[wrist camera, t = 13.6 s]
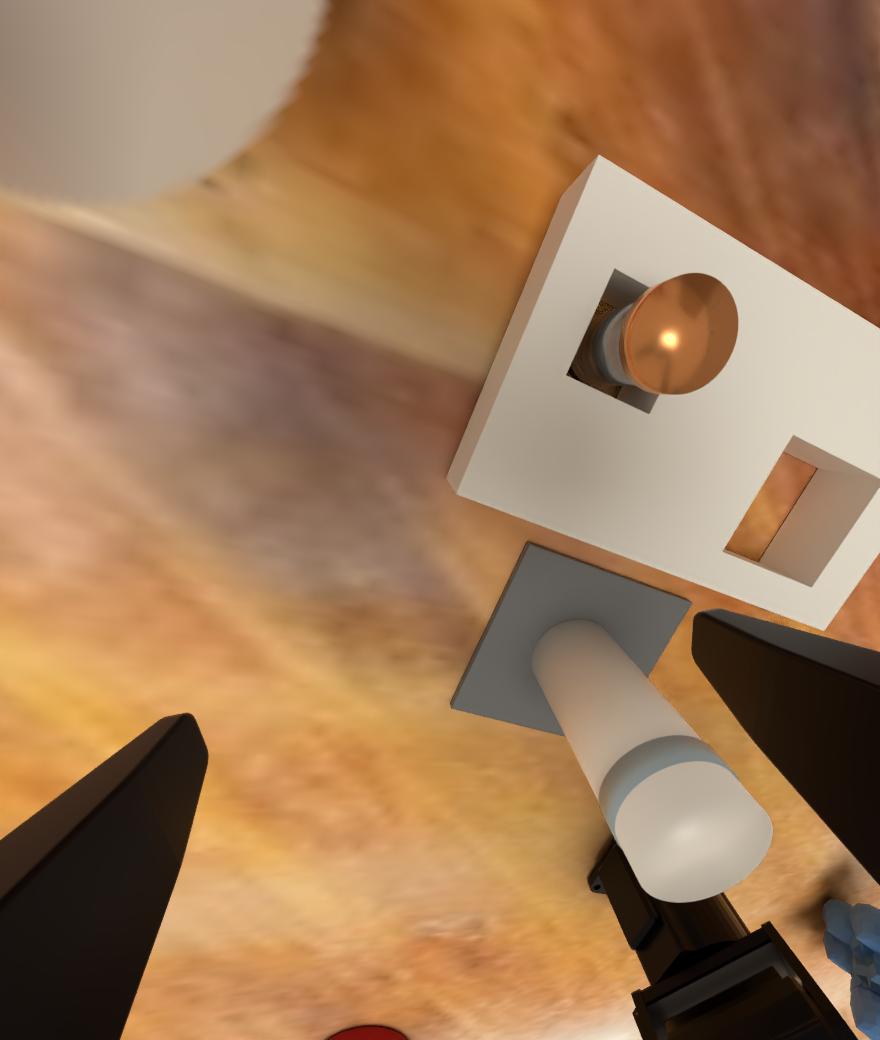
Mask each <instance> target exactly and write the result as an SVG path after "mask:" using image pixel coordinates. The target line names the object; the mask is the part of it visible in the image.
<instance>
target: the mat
mask: <svg viewBox="0 0 880 1040" xmlns="http://www.w3.org/2000/svg"><path fill="white" fill-rule="evenodd" d="M691 605H692V602H691V601H689V600H688V599H685V598H682V597H680V596H677V595H674V594H671V593H668V592H666V591H663V590H660V589H657V588H655V587H652V586H649V585H646V584H643V583H641V582H638V581H635V580H632V579H629V578H627V577H624V576H621V575H618V574H616V573H613V572H610V571H607V570H604V569H602V568H599V567H596V566H593V565H590V564H588V563H585V562H582V561H579V560H577V559H574V558H571V557H568V556H565V555H563V554H560V553H557V552H554V551H551V550H549V549H546V548H543V547H540V546H538V545H535V544H532V543H529V542H527V543H526V546H525V548H524V550H523V552H522V554H521V556H520V558H519V560H518V562H517V564H516V566H515V569H514V571H513V573H512V575H511V577H510V579H509V581H508V583H507V585H506V587H505V589H504V592H503V594H502V596H501V598H500V600H499V602H498V604H497V606H496V608H495V610H494V613H493V615H492V617H491V619H490V621H489V623H488V625H487V627H486V629H485V631H484V633H483V636H482V638H481V640H480V642H479V644H478V646H477V648H476V650H475V652H474V654H473V656H472V659H471V661H470V663H469V665H468V667H467V669H466V671H465V673H464V675H463V677H462V680H461V682H460V684H459V686H458V688H457V690H456V692H455V694H454V696H453V698H452V700H451V703H450V705H451V708H452V709H456V710H460V711H464V712H468V713H472V714H476V715H480V716H484V717H488V718H492V719H496V720H500V721H504V722H508V723H512V724H516V725H520V726H524V727H529V728H533V729H537V730H541V731H545V732H549V733H553V734H557V735H561V736H565V734H564V732H563V730H562V728H561V726H560V724H559V722H558V720H557V718H556V716H555V714H554V712H553V710H552V708H551V707H550V705H549V703H548V701H547V699H546V697H545V695H544V693H543V691H542V689H541V687H540V685H539V683H538V681H537V679H536V677H535V675H534V673H533V670H532V665H531V659H532V654H533V650H534V648H535V646H536V644H537V642H538V641H539V639H540V638H541V637H542V636H543V635H544V634H545V633H546V632H547V631H548V630H549V629H551V628H552V627H554V626H556V625H558V624H560V623H562V622H565V621H569V620H575V619H582V620H589V621H592V622H595V623H597V624H598V625H600V626H601V627H603V628H604V629H605V631H606V632H607V633H608V634H609V635H610V636H611V637H612V638H613V640H614V641H615V642H616V643H617V644H618V645H619V646H620V647H621V649H622V650H623V651H624V652H625V653H626V654H627V655H628V656H629V658H630V659H631V660H632V661H633V662H634V663H635V664H636V666H637V667H638V668H639V669H640V670H641V671H642V672H643V673H644V675H645V676H646V677H648V676H649V674H650V672H651V671H652V669H653V667H654V666H655V664H656V662H657V661H658V659H659V657H660V656H661V654H662V653H663V651H664V649H665V648H666V646H667V644H668V643H669V641H670V639H671V638H672V636H673V634H674V633H675V631H676V629H677V628H678V626H679V624H680V623H681V621H682V620H683V618H684V616H685V615H686V613H687V611H688V610H689V608H690V606H691ZM565 737H566V736H565Z"/></svg>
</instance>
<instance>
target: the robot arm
mask: <svg viewBox="0 0 880 1040" xmlns="http://www.w3.org/2000/svg"><path fill="white" fill-rule="evenodd" d="M691 650H692V656H693V659H694V661H695V663H696V664H697V666H698V667H699V669H700V670H701V671H702V673H703V674H704V675H705V677H706V678H707V679H708V681H709V682H710V684H711V685H712V686H713V688H714V689H715V690H716V692H717V693H718V694H719V696H720V697H721V699H722V700H723V701H724V703H725V704H726V705H727V707H728V708H729V709H730V711H731V712H732V713H733V715H734V716H735V718H736V719H737V720H738V722H739V723H740V724H741V726H742V727H743V728H744V730H745V731H746V732H747V733H748V735H749V736H750V737H751V739H752V740H753V741H754V742H755V744H756V745H757V746H758V747H759V748H760V749H761V751H762V752H763V753H764V754H765V755H766V756H767V758H768V759H769V760H770V761H771V762H772V763H773V764H774V766H775V767H776V768H777V769H778V770H779V771H780V772H781V774H782V775H783V776H784V777H785V778H786V779H787V780H788V782H789V783H790V784H791V785H792V786H793V787H794V788H795V790H796V791H797V792H798V793H799V794H800V795H801V796H802V798H803V799H804V800H805V801H806V802H807V803H808V804H809V806H810V807H811V808H812V809H813V810H814V811H815V812H816V814H817V815H818V816H819V817H820V818H821V819H822V820H823V822H824V823H825V824H826V825H827V826H828V827H829V828H830V830H831V831H832V832H833V833H834V834H835V835H836V836H837V838H838V839H839V840H840V841H841V842H842V843H843V844H844V846H845V847H846V848H847V849H848V850H849V851H850V852H851V854H852V855H853V856H854V857H855V858H856V859H857V860H858V862H859V863H860V864H861V865H862V866H863V867H864V868H865V870H866V871H867V872H868V873H869V874H870V875H871V876H872V877H873V879H874V880H875V881H876V882H877V883H878V884H879V885H880V652H879V651H875V650H871V649H867V648H864V647H860V646H856V645H853V644H849V643H845V642H842V641H838V640H834V639H831V638H827V637H823V636H820V635H816V634H812V633H809V632H805V631H801V630H797V629H794V628H790V627H786V626H783V625H779V624H775V623H772V622H768V621H764V620H761V619H757V618H753V617H750V616H746V615H742V614H739V613H735V612H731V611H727V610H724V609H711V610H706V611H701V612H698V613H697V614H696V615H695V616H694V619H693V632H692V648H691ZM207 765H208V749H207V746H206V744H205V741H204V739H203V736H202V734H201V732H200V729H199V727H198V724H197V722H196V719H195V718H194V716H193V715H192V714H190V713H182V714H177V715H172V716H167V717H164V718H162V719H160V720H159V721H157V722H156V723H155V724H154V725H152V726H151V727H150V728H148V729H147V730H146V731H144V732H143V733H142V734H140V735H139V736H138V737H136V738H135V739H134V740H132V741H131V742H130V743H128V744H127V745H126V746H124V747H123V748H122V749H120V750H119V751H118V752H116V753H115V754H114V755H112V756H111V757H110V758H108V759H107V760H106V761H104V762H103V763H102V764H100V765H99V766H98V767H97V768H95V769H94V770H93V771H91V772H90V773H89V774H87V775H86V776H85V777H83V778H82V779H81V780H79V781H78V782H77V783H75V784H74V785H73V786H71V787H70V788H69V789H67V790H66V791H65V792H63V793H62V794H61V795H59V796H58V797H57V798H55V799H54V800H53V801H51V802H50V803H49V804H47V805H46V806H45V807H44V808H42V809H41V810H40V811H38V812H37V813H36V814H34V815H33V816H32V817H30V818H29V819H28V820H26V821H25V822H24V823H22V824H21V825H20V826H18V827H17V828H16V829H14V830H13V831H12V832H10V833H9V834H8V835H6V836H5V837H4V838H2V839H1V840H0V1040H120V1038H121V1035H122V1032H123V1030H124V1027H125V1024H126V1021H127V1018H128V1016H129V1013H130V1010H131V1007H132V1004H133V1001H134V999H135V996H136V993H137V990H138V987H139V985H140V982H141V979H142V976H143V973H144V970H145V968H146V965H147V962H148V959H149V956H150V954H151V951H152V948H153V945H154V942H155V940H156V937H157V934H158V931H159V928H160V925H161V923H162V920H163V917H164V914H165V911H166V909H167V906H168V903H169V900H170V897H171V894H172V892H173V889H174V886H175V883H176V880H177V877H178V874H179V871H180V868H181V865H182V861H183V858H184V854H185V851H186V847H187V843H188V839H189V835H190V832H191V828H192V824H193V820H194V816H195V812H196V808H197V804H198V801H199V797H200V793H201V789H202V785H203V781H204V777H205V773H206V770H207ZM588 885H589V888H590V890H591V891H592V892H595V893H602V894H607V896H608V898H609V900H610V903H611V905H612V907H613V910H614V912H615V914H616V916H617V919H618V921H619V923H620V926H621V928H622V930H623V932H624V935H625V937H626V939H627V942H628V944H629V946H630V948H631V949H632V950H635V951H636V953H637V955H638V958H639V960H640V962H641V964H642V967H643V969H644V971H645V974H646V976H647V978H648V980H649V983H650V985H651V986H649V987H647V988H645V989H643V990H640V989H638V990H636V991H634V992H632V993H631V995H632V998H633V1001H634V1004H635V1006H636V1008H635V1010H634V1011H633V1013H632V1014H633V1016H634V1019H635V1021H636V1024H637V1026H638V1029H639V1031H640V1034H641V1037H642V1039H643V1040H858V1039H857V1037H856V1036H855V1034H854V1033H853V1032H852V1030H851V1029H850V1028H849V1026H848V1025H847V1023H846V1022H845V1021H844V1019H843V1018H842V1017H841V1015H840V1014H839V1013H838V1011H837V1010H836V1009H835V1007H834V1006H833V1005H832V1003H831V1002H830V1001H829V999H828V998H827V997H826V995H825V994H824V993H823V991H822V990H821V989H820V987H819V986H818V985H817V983H816V982H815V981H814V979H813V978H812V977H811V975H810V974H809V973H808V971H807V970H806V969H805V967H804V966H803V965H802V963H801V962H800V961H799V959H798V958H797V957H796V955H795V954H794V953H793V951H792V950H791V949H790V947H789V946H788V945H787V943H786V942H785V941H784V939H783V938H782V937H781V936H780V934H779V933H778V932H777V930H776V929H775V928H774V926H773V925H772V924H771V922H770V921H768V922H766V923H764V924H762V925H761V927H762V928H760V929H758V930H756V931H754V932H752V933H750V931H749V930H748V928H747V927H746V925H745V924H744V922H743V921H742V919H741V918H740V916H739V915H738V913H737V912H736V910H735V909H734V907H733V906H732V904H731V903H730V901H729V900H728V898H727V897H726V895H725V894H724V892H722V893H720V894H717V895H715V896H712V897H709V898H706V899H702V900H698V901H693V902H681V903H676V902H667V901H663V900H660V899H657V898H655V897H653V896H651V895H649V894H648V893H647V892H646V891H645V890H644V889H643V888H642V887H641V885H640V883H639V881H638V879H637V877H636V875H635V873H634V871H633V869H632V867H631V865H630V863H629V861H628V859H627V857H626V855H625V853H624V851H623V850H622V849H621V848H620V846H619V845H618V844H617V842H616V840H614V842H613V843H612V845H611V846H610V848H609V849H608V851H607V852H606V854H605V855H604V857H603V858H602V860H601V861H600V863H599V864H598V866H597V867H596V869H595V870H594V872H593V873H592V875H591V877H590V878H589V880H588Z"/></svg>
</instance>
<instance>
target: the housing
mask: <svg viewBox="0 0 880 1040" xmlns="http://www.w3.org/2000/svg"><path fill="white" fill-rule="evenodd" d="M687 273H703V274H707V275H710V276H712V277H714V278H716V279H718V280H719V281H720V282H722V283H723V284H724V285H725V286H726V287H727V289H728V290H729V291H730V293H731V295H732V297H733V298H734V301H735V304H736V307H737V312H738V320H739V322H738V335H737V340H736V344H735V347H734V350H733V352H732V354H731V356H730V358H729V360H728V362H727V364H726V365H725V367H724V368H723V369H722V371H721V372H720V373H719V374H718V375H717V376H716V377H715V378H714V379H713V380H712V381H711V382H710V383H708V384H707V385H705V386H704V387H702V388H700V389H698V390H696V391H693V392H691V393H687V394H680V395H665V394H653V393H648V392H646V391H643V390H642V389H640V388H638V387H637V386H636V385H622V387H621V389H620V391H619V393H618V396H617V398H616V399H615V398H613V397H611V396H609V395H607V394H605V393H603V392H601V391H598V390H596V389H594V388H592V387H590V386H588V385H586V384H584V383H581V382H579V381H577V380H575V379H573V378H571V377H569V376H567V375H566V374H567V372H568V370H569V367H570V365H571V363H572V361H573V359H574V356H575V354H576V352H577V350H578V348H579V345H580V343H581V341H582V339H583V337H584V334H585V332H586V330H587V328H588V326H589V323H590V321H591V319H592V317H593V315H594V312H595V310H596V308H597V306H598V304H599V301H600V300H601V301H603V302H605V303H607V304H609V305H611V306H612V307H614V308H616V309H617V308H620V307H623V306H626V305H629V304H631V303H634V302H635V301H636V300H637V299H638V298H639V296H641V295H642V294H643V293H644V292H645V291H646V290H648V289H649V288H651V287H652V286H654V285H656V284H658V283H661V282H663V281H666V280H669V279H671V278H674V277H677V276H679V275H682V274H687ZM782 452H785V453H787V454H789V455H791V456H794V457H796V458H798V459H800V460H802V461H804V462H806V463H808V464H810V465H812V466H814V467H816V468H818V469H817V471H816V472H815V474H814V475H813V477H812V479H811V480H810V482H809V483H808V485H807V486H806V488H805V490H804V491H803V493H802V494H801V496H800V498H799V499H798V501H797V502H796V504H795V505H794V507H793V509H792V510H791V512H790V513H789V515H788V516H787V518H786V520H785V521H784V523H783V524H782V526H781V528H780V529H779V531H778V532H777V534H776V535H775V537H774V539H773V540H772V542H771V543H770V545H769V546H768V548H767V550H766V551H765V553H764V554H763V556H762V558H761V559H760V561H759V562H756V561H753V560H751V559H748V558H746V557H743V556H741V555H738V554H736V553H733V552H731V551H728V550H726V549H724V548H725V546H726V545H727V543H728V541H729V540H730V538H731V537H732V535H733V533H734V532H735V530H736V528H737V527H738V525H739V523H740V522H741V520H742V518H743V517H744V515H745V513H746V512H747V510H748V508H749V507H750V505H751V503H752V502H753V500H754V499H755V497H756V495H757V494H758V492H759V490H760V489H761V487H762V485H763V484H764V482H765V480H766V479H767V477H768V475H769V474H770V472H771V470H772V469H773V467H774V466H775V464H776V462H777V461H778V459H779V457H780V456H781V454H782ZM446 480H447V481H448V483H449V484H450V486H451V487H452V489H453V490H454V492H455V493H456V494H457V495H459V496H462V497H465V498H467V499H470V500H473V501H475V502H478V503H481V504H484V505H486V506H489V507H492V508H494V509H497V510H500V511H502V512H505V513H508V514H510V515H513V516H516V517H518V518H521V519H524V520H527V521H529V522H532V523H535V524H537V525H540V526H543V527H545V528H548V529H551V530H553V531H556V532H559V533H562V534H564V535H567V536H570V537H572V538H575V539H578V540H580V541H583V542H586V543H588V544H591V545H594V546H596V547H599V548H602V549H605V550H607V551H610V552H613V553H615V554H618V555H621V556H623V557H626V558H629V559H631V560H634V561H637V562H640V563H642V564H645V565H648V566H650V567H653V568H656V569H658V570H661V571H664V572H666V573H669V574H672V575H675V576H677V577H680V578H683V579H685V580H688V581H691V582H693V583H696V584H699V585H701V586H704V587H707V588H709V589H712V590H715V591H718V592H720V593H723V594H726V595H728V596H731V597H734V598H736V599H739V600H742V601H744V602H747V603H750V604H753V605H755V606H758V607H761V608H763V609H766V610H769V611H771V612H774V613H777V614H779V615H782V616H785V617H787V618H790V619H793V620H796V621H798V622H801V623H804V624H806V625H809V626H812V627H814V628H817V629H820V630H822V631H824V630H825V629H826V628H827V626H828V625H829V623H830V622H831V620H832V619H833V618H834V616H835V615H836V613H837V612H838V611H839V609H840V608H841V606H842V605H843V604H844V602H845V601H846V599H847V598H848V596H849V595H850V594H851V592H852V591H853V589H854V588H855V587H856V585H857V584H858V582H859V581H860V579H861V578H862V577H863V575H864V574H865V572H866V571H867V570H868V568H869V567H870V565H871V564H872V562H873V561H874V560H875V558H876V557H877V555H878V554H879V553H880V329H879V328H878V327H876V326H874V325H873V324H871V323H870V322H868V321H866V320H865V319H863V318H862V317H860V316H858V315H857V314H855V313H854V312H852V311H850V310H849V309H847V308H845V307H844V306H842V305H841V304H839V303H837V302H836V301H834V300H833V299H831V298H829V297H828V296H826V295H825V294H823V293H821V292H820V291H818V290H816V289H815V288H813V287H812V286H810V285H808V284H807V283H805V282H804V281H802V280H800V279H799V278H797V277H796V276H794V275H792V274H791V273H789V272H787V271H786V270H784V269H783V268H781V267H779V266H778V265H776V264H775V263H773V262H771V261H770V260H768V259H766V258H765V257H763V256H762V255H760V254H758V253H757V252H755V251H754V250H752V249H750V248H749V247H747V246H746V245H744V244H742V243H741V242H739V241H737V240H736V239H734V238H733V237H731V236H729V235H728V234H726V233H725V232H723V231H721V230H720V229H718V228H717V227H715V226H713V225H712V224H710V223H708V222H707V221H705V220H704V219H702V218H700V217H699V216H697V215H696V214H694V213H692V212H691V211H689V210H687V209H686V208H684V207H683V206H681V205H679V204H678V203H676V202H675V201H673V200H671V199H670V198H668V197H667V196H665V195H663V194H662V193H660V192H658V191H657V190H655V189H654V188H652V187H650V186H649V185H647V184H646V183H644V182H642V181H641V180H639V179H638V178H636V177H634V176H633V175H631V174H629V173H628V172H626V171H625V170H623V169H621V168H620V167H618V166H617V165H615V164H613V163H612V162H610V161H608V160H607V159H605V158H604V157H602V156H600V155H598V156H597V157H596V158H595V159H594V160H593V161H592V162H591V163H590V165H589V166H588V167H587V168H586V169H585V170H584V171H583V172H582V173H581V174H580V176H579V177H578V178H577V179H576V180H575V181H574V182H573V183H572V184H571V185H570V187H569V188H568V189H567V190H566V191H565V192H564V193H563V194H562V196H561V198H560V200H559V203H558V205H557V208H556V210H555V213H554V215H553V218H552V220H551V222H550V225H549V227H548V230H547V232H546V235H545V237H544V240H543V242H542V244H541V247H540V249H539V252H538V254H537V257H536V259H535V262H534V264H533V266H532V269H531V271H530V274H529V276H528V279H527V281H526V284H525V286H524V288H523V291H522V293H521V296H520V298H519V301H518V303H517V306H516V308H515V310H514V313H513V315H512V318H511V320H510V323H509V325H508V327H507V330H506V332H505V335H504V337H503V340H502V342H501V345H500V347H499V349H498V352H497V354H496V357H495V359H494V362H493V364H492V367H491V369H490V371H489V374H488V376H487V379H486V381H485V384H484V386H483V389H482V391H481V393H480V396H479V398H478V401H477V403H476V406H475V408H474V411H473V413H472V415H471V418H470V420H469V423H468V425H467V428H466V430H465V433H464V435H463V437H462V440H461V442H460V445H459V447H458V450H457V452H456V455H455V457H454V459H453V462H452V464H451V467H450V469H449V472H448V474H447V477H446Z"/></svg>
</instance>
